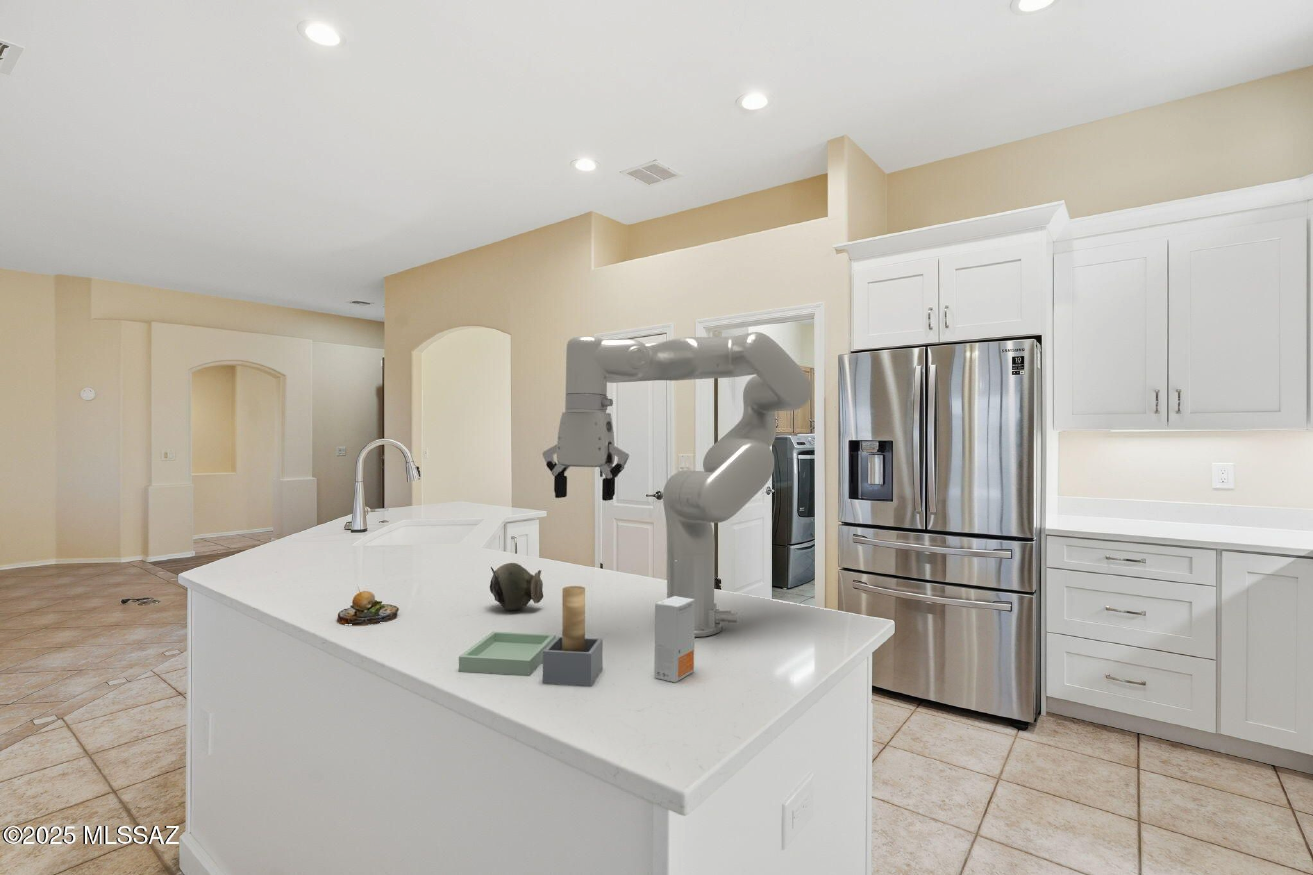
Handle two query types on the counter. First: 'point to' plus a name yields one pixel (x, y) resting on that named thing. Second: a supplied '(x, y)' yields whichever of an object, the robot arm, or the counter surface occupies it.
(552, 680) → the open box
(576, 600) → the dowel
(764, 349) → the robot arm
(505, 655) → the tray
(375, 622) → the plate of food
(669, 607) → the skincare box
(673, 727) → the counter surface
